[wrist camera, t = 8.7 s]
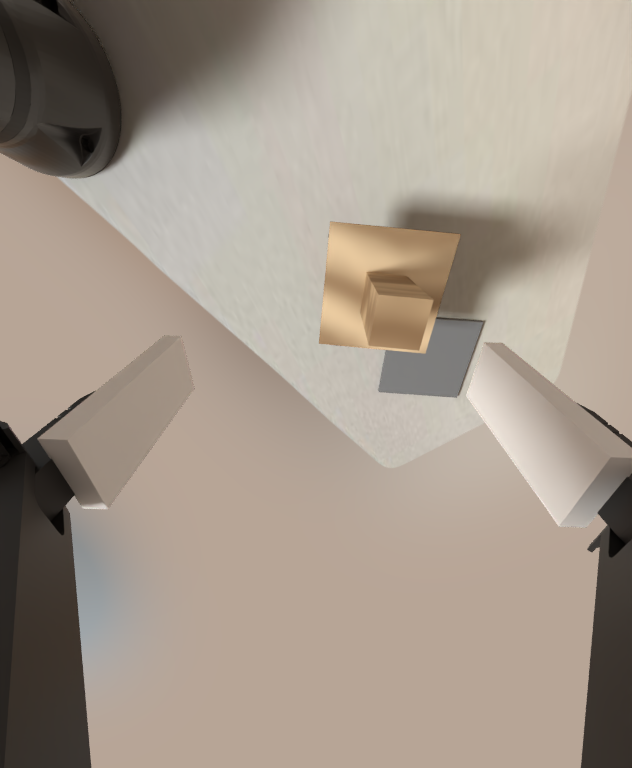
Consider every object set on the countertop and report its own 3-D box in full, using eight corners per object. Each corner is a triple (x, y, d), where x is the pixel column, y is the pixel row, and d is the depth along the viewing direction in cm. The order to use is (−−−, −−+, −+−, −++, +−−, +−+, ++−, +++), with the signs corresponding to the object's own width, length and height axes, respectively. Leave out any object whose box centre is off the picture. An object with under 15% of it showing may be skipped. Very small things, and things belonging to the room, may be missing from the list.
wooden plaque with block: (330, 221, 28) (328, 226, 19) (456, 233, 28) (512, 244, 19) (319, 339, 34) (314, 384, 25) (422, 349, 34) (453, 397, 25)
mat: (392, 315, 40) (393, 316, 39) (481, 321, 40) (483, 322, 39) (378, 390, 46) (378, 391, 45) (455, 395, 46) (456, 397, 45)
